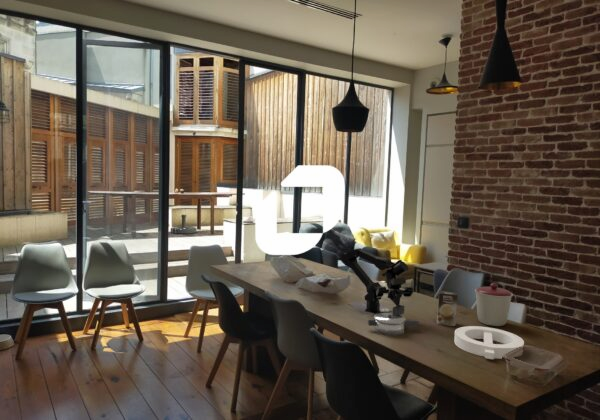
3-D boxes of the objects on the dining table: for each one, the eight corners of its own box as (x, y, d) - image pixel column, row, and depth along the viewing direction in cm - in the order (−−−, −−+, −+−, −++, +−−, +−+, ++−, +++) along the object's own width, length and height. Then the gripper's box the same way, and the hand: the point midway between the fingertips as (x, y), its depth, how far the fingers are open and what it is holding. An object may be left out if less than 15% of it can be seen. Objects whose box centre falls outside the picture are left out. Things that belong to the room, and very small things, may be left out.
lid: (367, 319, 210) (368, 309, 210) (388, 311, 224) (389, 302, 224) (395, 326, 200) (395, 316, 200) (415, 318, 214) (415, 308, 214)
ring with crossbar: (489, 363, 176) (490, 351, 175) (440, 339, 201) (441, 329, 201) (538, 354, 187) (539, 343, 186) (486, 333, 212) (487, 323, 212)
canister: (481, 316, 241) (483, 278, 239) (516, 324, 228) (519, 284, 227) (467, 322, 228) (469, 282, 227) (502, 331, 215) (505, 289, 214)
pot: (364, 325, 216) (364, 315, 216) (411, 325, 219) (412, 315, 219) (372, 335, 203) (372, 324, 202) (422, 335, 206) (423, 324, 205)
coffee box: (436, 324, 223) (438, 293, 222) (436, 320, 229) (438, 290, 228) (455, 326, 220) (457, 295, 219) (455, 323, 226) (457, 292, 225)
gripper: (378, 271, 225) (384, 298, 215) (413, 271, 228) (421, 298, 217) (373, 283, 234) (378, 309, 223) (407, 283, 236) (414, 309, 226)
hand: (398, 306), depth 222 cm, fingers closed
